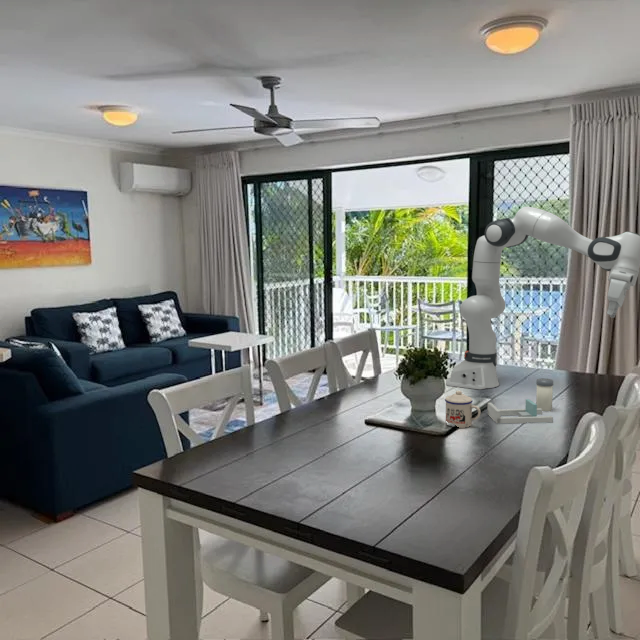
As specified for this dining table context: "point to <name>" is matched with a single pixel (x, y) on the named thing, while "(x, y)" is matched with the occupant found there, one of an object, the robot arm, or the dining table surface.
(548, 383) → the jar
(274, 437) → the dining table surface
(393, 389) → the dining table surface
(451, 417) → the teacup with lid
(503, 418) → the lane
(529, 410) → the pusher
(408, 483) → the dining table surface
